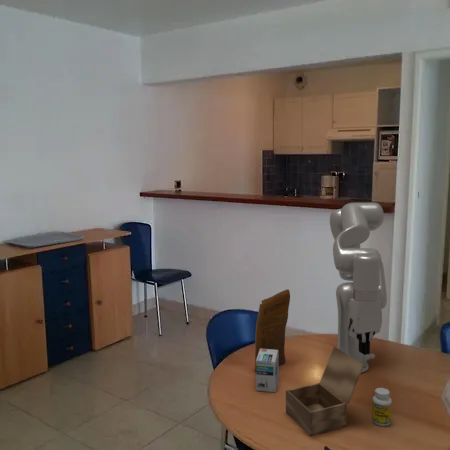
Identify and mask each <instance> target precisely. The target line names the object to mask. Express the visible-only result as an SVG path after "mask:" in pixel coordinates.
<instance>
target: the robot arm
mask: <svg viewBox="0 0 450 450" xmlns="http://www.w3.org/2000/svg"><path fill="white" fill-rule="evenodd" d="M382 207H383V206H381V204H379V203H377V202H348V203H347V204H345V205H343V206H342V208H338V209H335V210H332V212H331V213H330V215H329V226H330V227H329V228H330V230H331V231H330V232H331V234H332V237H333V240H334V242H333V245H332V255H333V264H334V266H335V269H336V270H337V272H338V274H339V276H340V278H341V279H342V280H344V281H347V282H342V283H341V284H339V285H338V286H337V287H336V288H335V289H336V290H335V297H336V304H337V348H338V349H340V350H341V351H343V352H344V353H346V354H348V355H349V356H351V357H352V358H354V359H356V360H357V361H359V362H360V363H362V364H364V367H363V370H362V372H361V374H362V373H365V372H367V371H368V370H369V363H368V361H369V360H373V359H374V360H375V358H376V355H375V354H374V353H371V351H370V350H371V342H372V341H373V338H374V336H375V335H376V334H379V333H380V332H381V328H382V326H383V311H382V310H383V309H384V308H385V307H386V306H387V303H388V302H387V301H388V296H387V287H386V286H387V285H386V278H385V269H384V263H383V261H382V255H381V253H380V252H379V250H378V249H376V248H367V247H366V248H361V244H363V243H365V242H366V241H367V240H368V239H369V237H370V235H371V232H373V231H375V230H377V229H378V228H379V227H381V226H382V225H383V223H384V218H385V217H384V216H385V215H384V210H383V208H382ZM348 281H349V282H348Z"/></svg>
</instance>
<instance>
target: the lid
mask: <svg viewBox="0 0 450 450" xmlns="http://www.w3.org/2000/svg"><path fill="white" fill-rule="evenodd" d="M332 348H333V349H332V351H331V354H330V355H329V358H328V361H327V364H326V366H325V368H324V371H323V373H322V376H321V378H320V382H319V383H320V384H322V385H323V386H324V387H326V388H327V389H328V390H329V391H331V392H332V393H333V394H335V395H336V396H337V397H338V398H340V399H341V400H342V401H344V402H345V403H346V404H347V405H349V404H350V402H351V401H350V400H351V399H352V396H353V394H354V392H355V388H356V386H357V384H358V381H359V379H360V376H361V374H362V373H361V372H362V370H363V367H364V364H362V363H360V362H359V361H357V360H356V359H354V358H352V357H351V356H349V355H348V354H346V353H344V352H343V351H341V350H340V349H338V347H336V346H333V347H332Z"/></svg>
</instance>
